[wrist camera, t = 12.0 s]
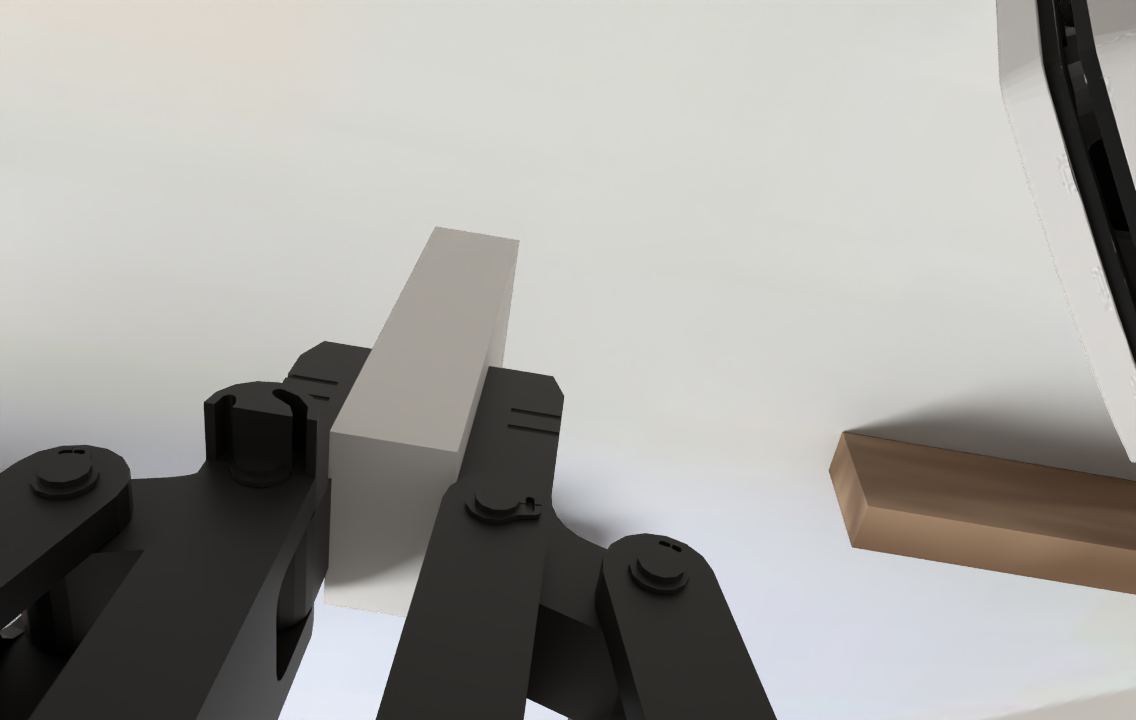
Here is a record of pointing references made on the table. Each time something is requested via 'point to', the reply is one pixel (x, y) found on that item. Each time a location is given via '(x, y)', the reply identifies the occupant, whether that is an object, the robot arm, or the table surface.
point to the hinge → (1081, 169)
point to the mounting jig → (987, 512)
